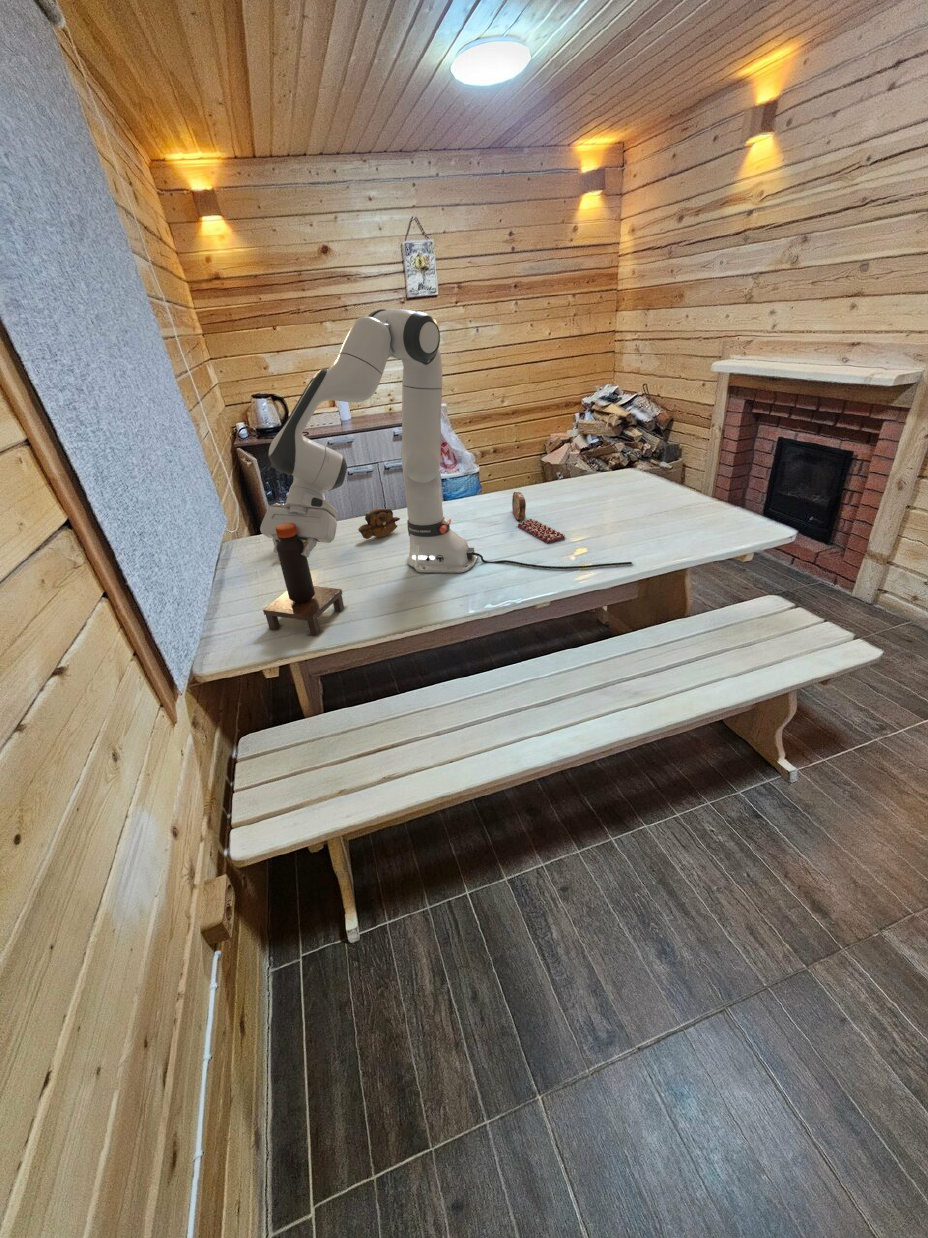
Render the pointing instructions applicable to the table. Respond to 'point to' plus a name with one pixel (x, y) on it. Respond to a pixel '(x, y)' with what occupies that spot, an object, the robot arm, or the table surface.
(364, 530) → the wooden carving
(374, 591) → the table surface
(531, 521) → the chocolate bar
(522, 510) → the tin
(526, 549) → the table surface
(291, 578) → the vinegar
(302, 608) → the stand
